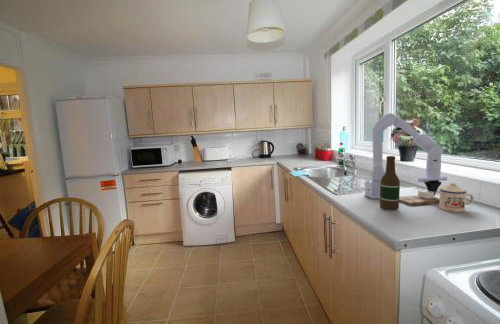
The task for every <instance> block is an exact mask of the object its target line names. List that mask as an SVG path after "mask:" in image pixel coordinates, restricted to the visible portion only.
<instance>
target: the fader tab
mask: <svg viewBox="0 0 500 324" xmlns="http://www.w3.org/2000/svg"><path fill="white" fill-rule="evenodd" d="M417 195H418V196H419V197H423V198H426V199H429V198H434V197H435V196H434V192H432V191H428V189H418V194H417Z"/></svg>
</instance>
